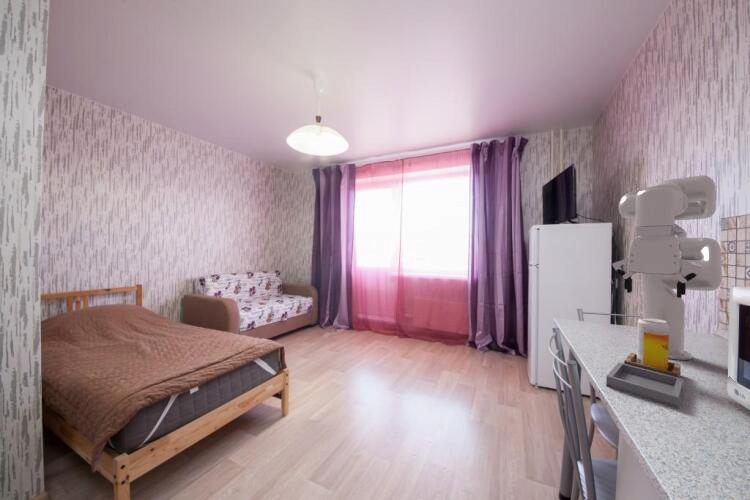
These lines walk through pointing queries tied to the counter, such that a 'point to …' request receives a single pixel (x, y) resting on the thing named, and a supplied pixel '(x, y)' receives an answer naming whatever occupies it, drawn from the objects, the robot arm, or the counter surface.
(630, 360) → the collar
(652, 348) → the beer can
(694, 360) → the counter surface
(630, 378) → the tray
